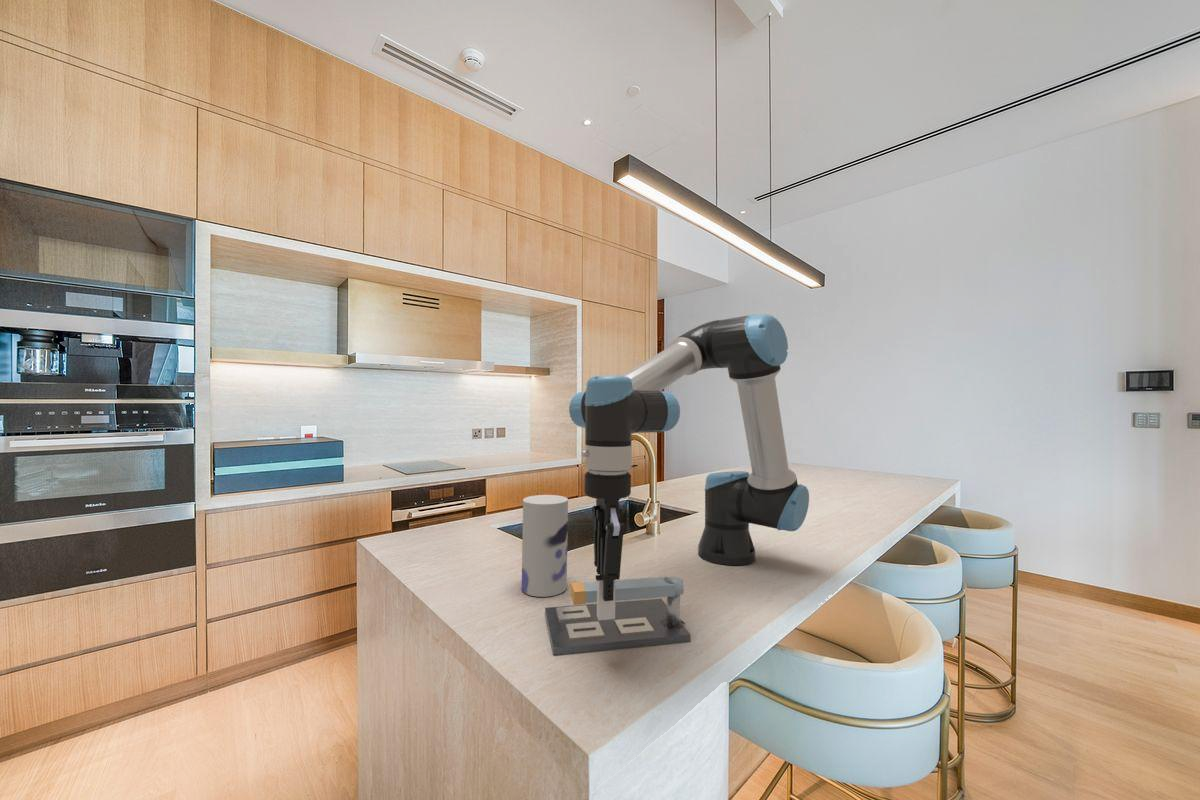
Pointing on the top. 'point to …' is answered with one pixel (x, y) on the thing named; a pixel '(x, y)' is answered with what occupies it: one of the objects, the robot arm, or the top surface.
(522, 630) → the top surface
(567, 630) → the slotted grey board
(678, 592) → the grey long bar
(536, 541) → the container
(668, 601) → the post
